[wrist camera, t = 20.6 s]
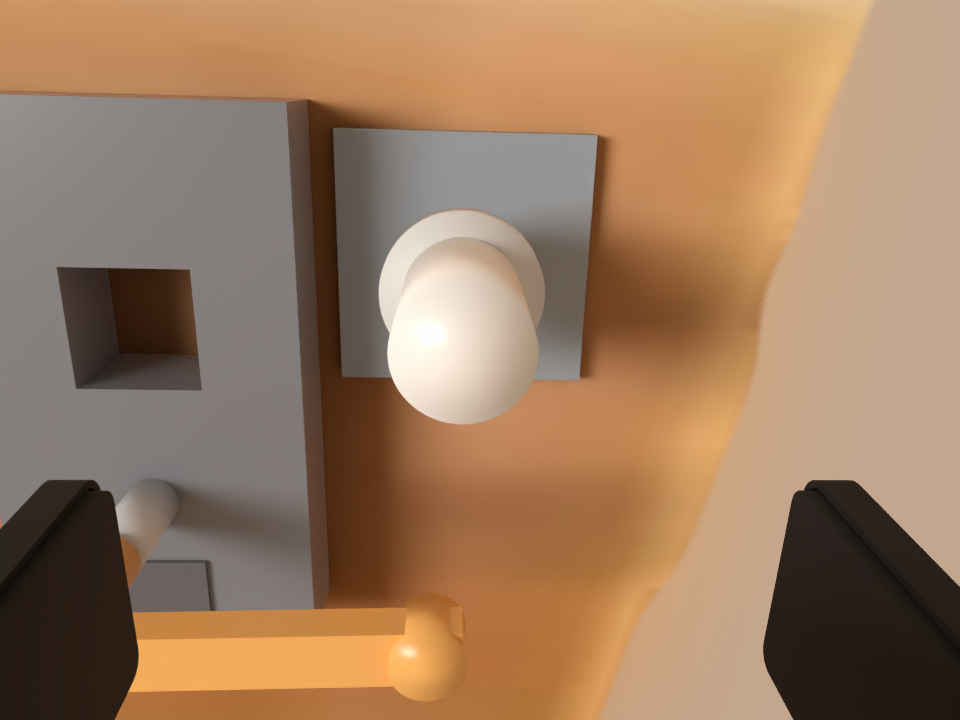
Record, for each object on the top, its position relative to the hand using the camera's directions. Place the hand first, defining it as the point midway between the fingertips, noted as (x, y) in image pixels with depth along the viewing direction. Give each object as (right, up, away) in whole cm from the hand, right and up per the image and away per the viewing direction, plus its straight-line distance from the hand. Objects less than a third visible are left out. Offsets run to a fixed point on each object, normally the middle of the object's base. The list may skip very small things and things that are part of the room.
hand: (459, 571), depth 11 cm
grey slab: (-13, +2, +22) cm, 26 cm away
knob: (0, +7, +20) cm, 21 cm away
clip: (-7, -4, +16) cm, 18 cm away
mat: (0, +7, +21) cm, 22 cm away
